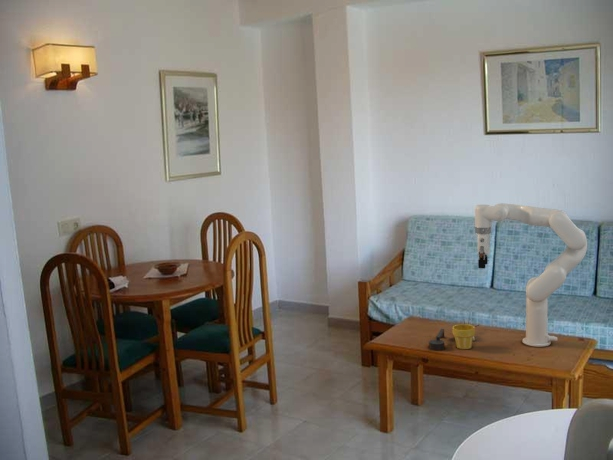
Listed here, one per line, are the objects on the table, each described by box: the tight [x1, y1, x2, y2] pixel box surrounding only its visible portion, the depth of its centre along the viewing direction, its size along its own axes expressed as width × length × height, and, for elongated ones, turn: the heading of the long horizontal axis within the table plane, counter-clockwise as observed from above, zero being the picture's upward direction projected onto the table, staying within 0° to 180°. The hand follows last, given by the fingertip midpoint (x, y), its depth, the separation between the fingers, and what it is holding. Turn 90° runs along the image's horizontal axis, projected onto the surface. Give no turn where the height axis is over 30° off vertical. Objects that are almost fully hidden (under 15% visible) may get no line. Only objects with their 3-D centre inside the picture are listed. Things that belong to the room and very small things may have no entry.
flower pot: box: [452, 323, 476, 350], centre depth 311 cm, size 10×10×10 cm
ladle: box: [428, 328, 445, 351], centre depth 319 cm, size 21×7×4 cm, turn 160°
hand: (482, 266), depth 317 cm, fingers open, 9 cm apart
